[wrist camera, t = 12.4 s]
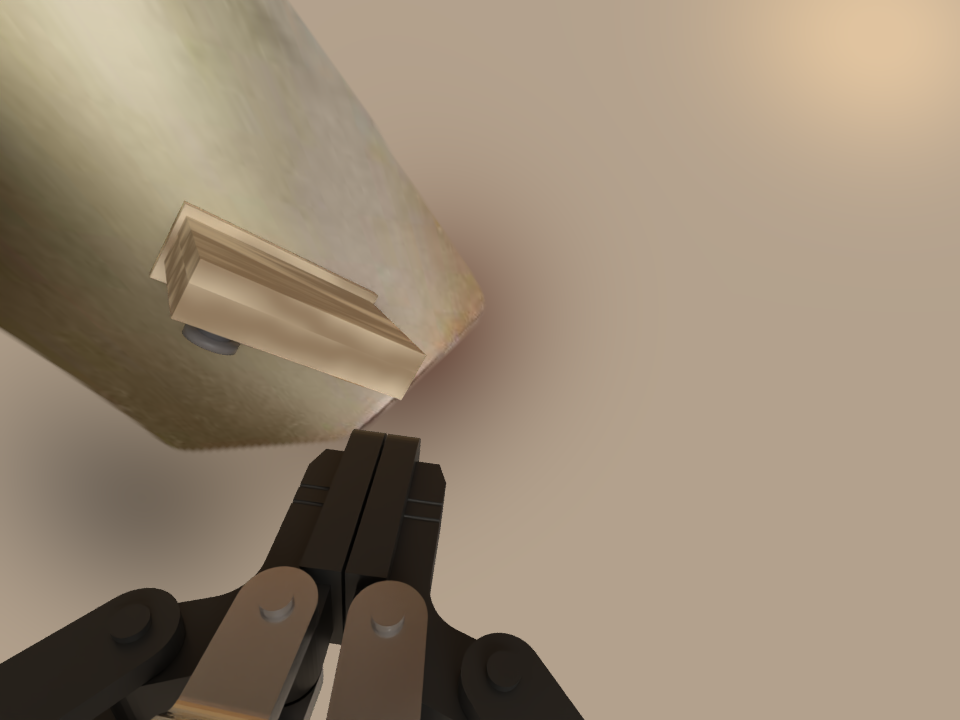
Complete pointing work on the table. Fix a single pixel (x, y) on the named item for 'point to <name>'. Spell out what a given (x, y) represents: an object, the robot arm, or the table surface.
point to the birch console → (280, 304)
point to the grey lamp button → (210, 340)
